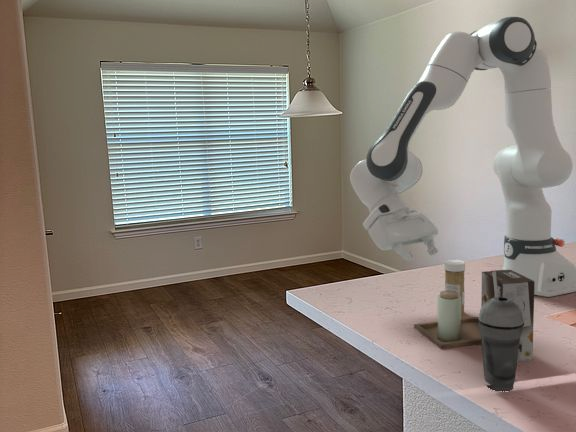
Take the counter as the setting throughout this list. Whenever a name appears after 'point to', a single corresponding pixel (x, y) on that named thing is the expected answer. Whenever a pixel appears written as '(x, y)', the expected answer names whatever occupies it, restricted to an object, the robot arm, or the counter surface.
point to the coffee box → (520, 294)
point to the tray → (468, 337)
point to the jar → (449, 316)
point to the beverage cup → (500, 340)
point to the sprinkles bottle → (455, 278)
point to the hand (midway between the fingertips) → (423, 256)
